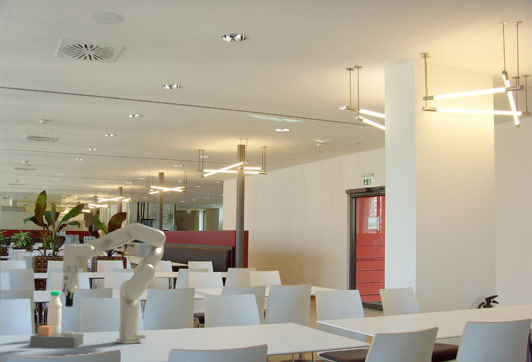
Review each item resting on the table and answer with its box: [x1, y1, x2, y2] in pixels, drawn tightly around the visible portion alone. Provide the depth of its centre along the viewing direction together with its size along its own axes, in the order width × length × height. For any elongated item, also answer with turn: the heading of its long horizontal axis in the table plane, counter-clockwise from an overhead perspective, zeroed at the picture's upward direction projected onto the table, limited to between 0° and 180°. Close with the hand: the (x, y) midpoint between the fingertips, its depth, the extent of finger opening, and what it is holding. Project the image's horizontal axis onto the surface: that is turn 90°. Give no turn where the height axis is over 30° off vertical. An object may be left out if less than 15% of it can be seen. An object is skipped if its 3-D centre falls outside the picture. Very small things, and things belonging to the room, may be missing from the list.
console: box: [29, 332, 84, 349], centre depth 304 cm, size 22×12×5 cm, turn 85°
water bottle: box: [46, 290, 63, 333], centre depth 321 cm, size 7×7×25 cm
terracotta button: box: [37, 325, 53, 336], centre depth 305 cm, size 5×5×5 cm
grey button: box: [61, 330, 77, 336], centre depth 303 cm, size 5×5×5 cm
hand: (69, 306), depth 305 cm, fingers closed
